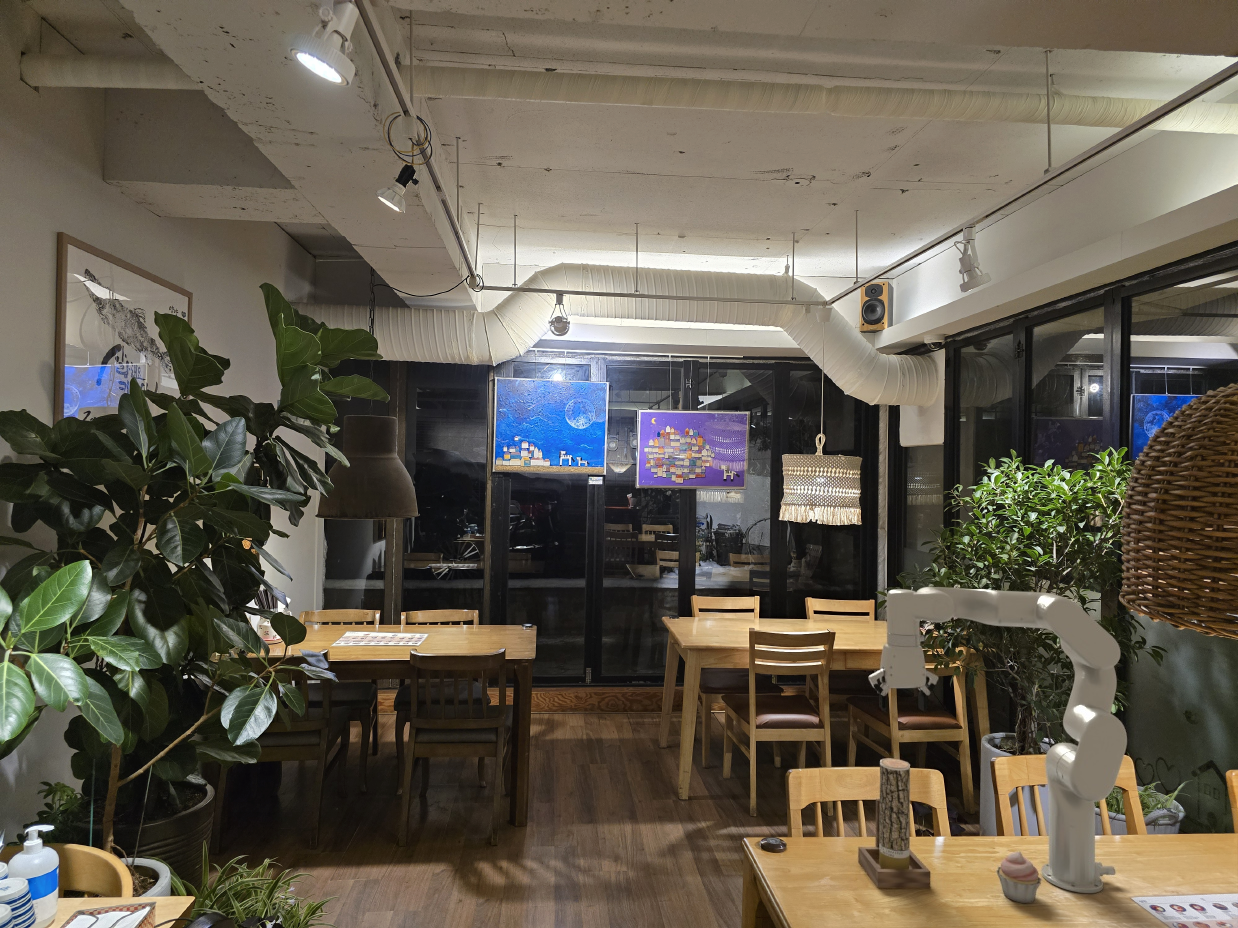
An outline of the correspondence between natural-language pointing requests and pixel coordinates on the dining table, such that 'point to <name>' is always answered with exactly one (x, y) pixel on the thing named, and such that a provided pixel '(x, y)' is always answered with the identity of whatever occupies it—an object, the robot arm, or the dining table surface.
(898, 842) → the paper tube
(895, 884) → the holder
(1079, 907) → the dining table surface
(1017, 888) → the cupcake
